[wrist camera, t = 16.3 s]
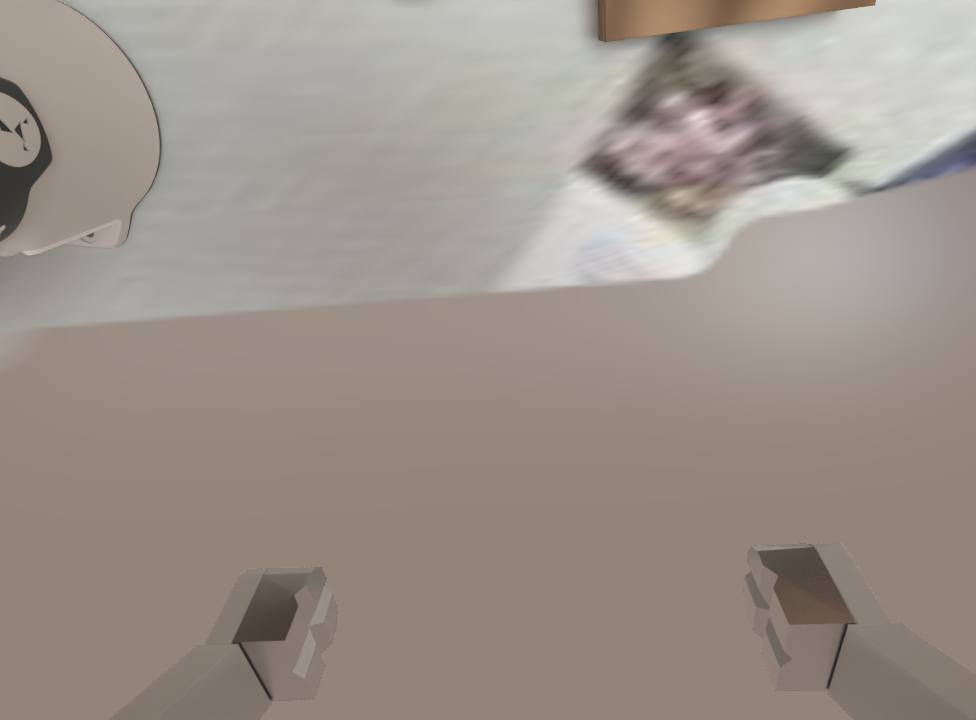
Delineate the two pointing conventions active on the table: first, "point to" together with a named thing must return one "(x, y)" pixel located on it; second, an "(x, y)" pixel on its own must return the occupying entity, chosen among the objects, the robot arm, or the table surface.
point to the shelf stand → (700, 14)
